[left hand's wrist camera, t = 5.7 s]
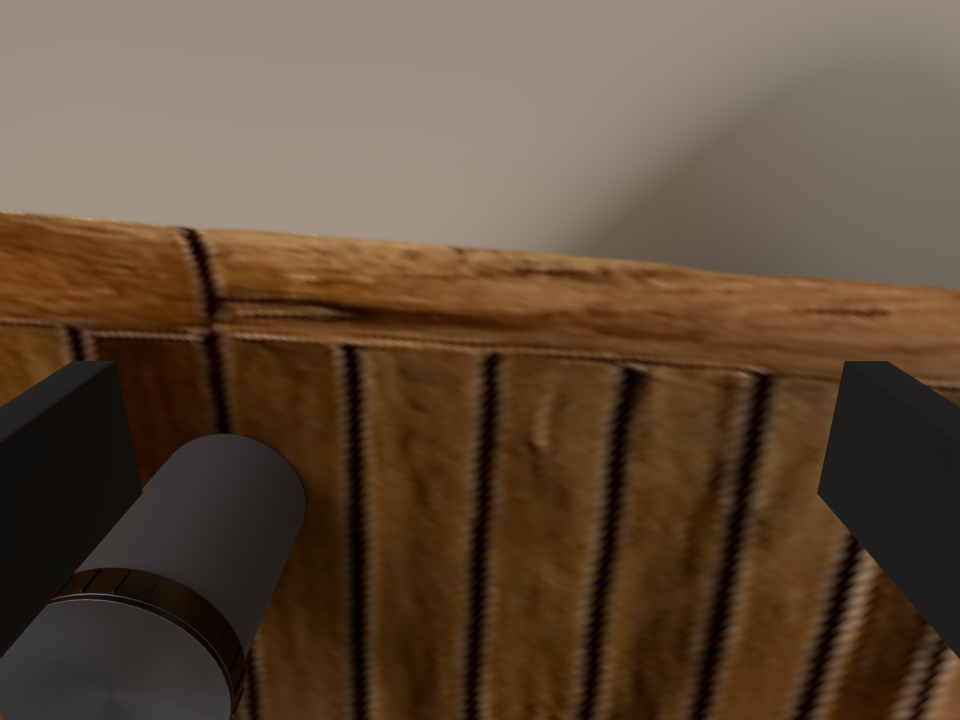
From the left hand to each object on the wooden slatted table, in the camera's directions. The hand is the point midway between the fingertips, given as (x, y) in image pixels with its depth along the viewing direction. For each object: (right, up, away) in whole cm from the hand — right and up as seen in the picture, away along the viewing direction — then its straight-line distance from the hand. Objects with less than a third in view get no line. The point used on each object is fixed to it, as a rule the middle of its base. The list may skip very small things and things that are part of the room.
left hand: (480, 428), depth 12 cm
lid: (-17, -14, +18) cm, 28 cm away
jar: (-17, -8, +33) cm, 38 cm away
